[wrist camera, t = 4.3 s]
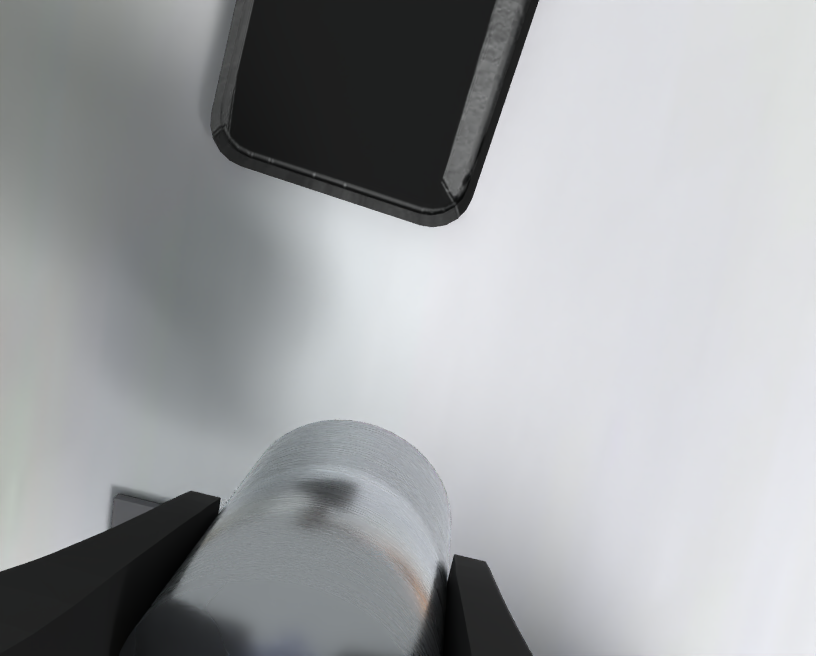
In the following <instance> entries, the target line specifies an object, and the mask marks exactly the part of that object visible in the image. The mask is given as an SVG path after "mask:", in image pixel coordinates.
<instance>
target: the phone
mask: <svg viewBox="0 0 816 656" xmlns="http://www.w3.org/2000/svg"><path fill="white" fill-rule="evenodd" d="M538 2H539V0H237V1H236V5H235V10H234V14H233V19H232V23H231V28H230V32H229V37H228V41H227V46H226V50H225V55H224V59H223V64H222V68H221V73H220V77H219V81H218V86H217V90H216V95H215V99H214V104H213V108H212V113H211V130H212V135H213V139H214V141H215V143H216V145H217V147H218V148H219V150H220V152H221V153H222V154H224V155H225V156H226V157H227V158H228V159H229V160H230V161H232V162H234V163H236V164H238V165H240V166H242V167H245V168H248V169H251V170H254V171H257V172H260V173H263V174H266V175H269V176H272V177H275V178H278V179H282V180H285V181H288V182H291V183H294V184H297V185H300V186H303V187H306V188H309V189H312V190H315V191H318V192H321V193H324V194H327V195H330V196H333V197H336V198H339V199H342V200H345V201H348V202H351V203H354V204H357V205H360V206H363V207H366V208H370V209H373V210H376V211H379V212H382V213H385V214H388V215H391V216H394V217H397V218H400V219H403V220H406V221H409V222H412V223H415V224H418V225H422V226H428V227H437V226H443V225H447V224H449V223H451V222H453V221H455V220H456V219H458V218H459V217H460V216H461V215H462V214H463V213H464V212H465V211H466V209H467V207H468V206H469V204H470V202H471V200H472V198H473V195H474V192H475V189H476V186H477V183H478V180H479V177H480V174H481V171H482V168H483V165H484V162H485V159H486V156H487V153H488V150H489V147H490V144H491V141H492V138H493V135H494V132H495V129H496V126H497V123H498V120H499V117H500V114H501V111H502V108H503V106H504V103H505V100H506V97H507V94H508V91H509V88H510V85H511V82H512V79H513V76H514V73H515V70H516V67H517V64H518V61H519V58H520V55H521V52H522V49H523V46H524V43H525V40H526V37H527V34H528V31H529V28H530V25H531V22H532V19H533V16H534V13H535V10H536V7H537V5H538Z"/></svg>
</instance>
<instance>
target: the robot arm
mask: <svg viewBox="0 0 816 656" xmlns="http://www.w3.org/2000/svg"><path fill="white" fill-rule="evenodd" d="M220 499H221V498H219V497H215V496H210V495H206V494H202V493H198V492H194V491H190V492H187V493H185V494H182V495H180V496H178V497H176V498H174V499H172V500H170V501H167V502H165V503H163V504H161V505H159V506H157V507H155V508H153V509H151V510H149V511H147V512H145V513H143V514H141V515H139V516H136V517H134V518H132V519H130V520H128V521H126V522H124V523H122V524H119V525H117V526H115V527H113V528H111V529H109V530H107V531H105V532H102V533H100V534H97V535H95V536H93V537H90V538H88V539H86V540H83V541H81V542H78V543H76V544H74V545H71V546H69V547H67V548H64V549H62V550H59V551H57V552H55V553H52V554H50V555H47V556H44V557H42V558H39V559H36V560H33V561H31V562H28V563H25V564H22V565H19V566H16V567H13V568H10V569H7V570H4V571H1V572H0V656H119V654H120V651H121V649H122V647H123V646H124V644H125V642H126V640H127V638H128V636H129V635H130V634H131V632H132V631H133V630H134V628H135V627H136V625H137V624H138V623H139V621H140V620H141V619H142V617H143V616H144V615H145V613H146V612H147V611H148V609H149V608H150V607H151V605H152V604H153V602H154V601H155V600H156V598H157V597H158V596H159V594H160V593H161V592H162V590H163V589H164V588H165V586H166V585H167V583H168V582H169V581H170V579H171V578H172V577H173V575H174V574H175V573H176V571H177V570H178V569H179V567H180V566H181V565H182V563H183V562H184V560H185V559H186V558H187V556H188V555H189V554H190V552H191V551H192V550H193V548H194V547H195V546H196V544H197V543H198V541H199V540H200V539H201V537H202V536H203V535H204V533H205V532H206V531H207V529H208V528H209V527H210V525H211V524H212V523H213V521H214V520H215V518H216V517H217V516H218V513H219V506H220ZM443 656H533V655H532V653H531V651H530V650H529V648H528V646H527V644H526V642H525V641H524V639H523V637H522V635H521V633H520V631H519V629H518V628H517V626H516V624H515V622H514V620H513V618H512V616H511V614H510V612H509V610H508V608H507V606H506V604H505V602H504V600H503V598H502V595H501V593H500V591H499V589H498V587H497V584H496V582H495V580H494V578H493V575H492V573H491V571H490V568H489V567H488V565H487V563H486V562H485V561H480V560H476V559H472V558H468V557H464V556H460V555H456V554H454V557H453V561H452V565H451V569H450V573H449V577H448V581H447V595H446V611H445V626H444V642H443Z"/></svg>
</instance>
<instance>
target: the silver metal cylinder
mask: <svg viewBox="0 0 816 656" xmlns="http://www.w3.org/2000/svg"><path fill="white" fill-rule="evenodd" d="M450 535H451V512H450V504H449V501H448V497H447V493H446V491H445V488H444V486H443V484H442V481H441V479H440V478H439V476H438V474H437V473H436V471H435V469H434V468H433V467H432V465H431V464H430V463H429V462H428V460H427V459H426V458H425V457H424V456H423V455H422V454H421V453H420V452H419V451H418V450H417V449H416V448H415V447H413V446H412V445H411V444H409V443H408V442H407V441H405V440H404V439H402V438H401V437H399V436H397V435H395V434H394V433H392V432H390V431H387V430H385V429H383V428H380V427H378V426H374V425H371V424H368V423H363V422H358V421H352V420H328V421H320V422H316V423H311V424H308V425H305V426H302V427H299V428H297V429H295V430H293V431H291V432H289V433H287V434H285V435H284V436H282V437H281V438H280V439H278V440H277V441H275V442H274V443H273V444H272V445H271V446H270V447H269V448H268V449H267V450H266V451H265V453H264V454H263V455H262V456H261V458H260V459H259V460H258V462H257V463H256V464H255V466H254V467H253V468H252V470H251V471H250V472H249V474H248V475H247V476H246V478H245V479H244V481H243V482H242V483H241V485H240V486H239V487H238V489H237V490H236V491H235V493H234V494H233V495H232V497H231V498H230V500H229V501H228V502H227V504H226V505H225V506H224V508H223V509H222V510H221V512H220V513H219V514H218V516H217V517H216V518H215V520H214V521H213V523H212V524H211V525H210V527H209V528H208V529H207V531H206V532H205V533H204V535H203V536H202V537H201V539H200V540H199V541H198V543H197V544H196V546H195V547H194V548H193V550H192V551H191V552H190V554H189V555H188V556H187V558H186V559H185V560H184V562H183V563H182V565H181V566H180V567H179V569H178V570H177V571H176V573H175V574H174V575H173V577H172V578H171V579H170V581H169V582H168V583H167V585H166V586H165V588H164V589H163V590H162V592H161V593H160V594H159V596H158V597H157V598H156V600H155V601H154V602H153V604H152V605H151V607H150V608H149V609H148V611H147V612H146V613H145V615H144V616H143V617H142V619H141V620H140V621H139V623H138V624H137V625H136V627H135V628H134V630H133V631H132V632H131V634H130V635H129V636H128V638H127V640H126V642H125V644H124V646H123V647H122V649H121V651H120V654H119V656H443V642H444V626H445V611H446V595H447V581H448V565H449V550H450Z"/></svg>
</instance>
